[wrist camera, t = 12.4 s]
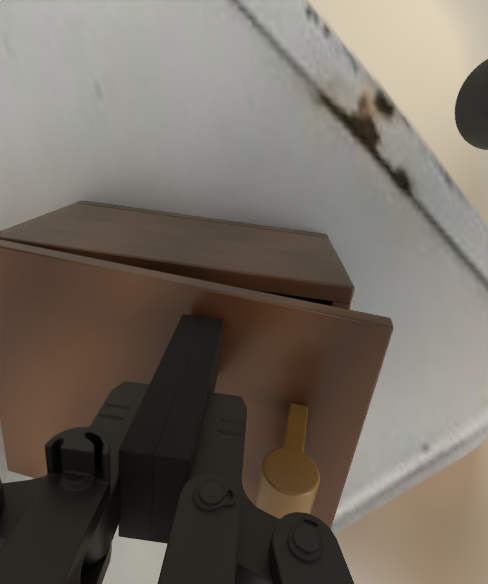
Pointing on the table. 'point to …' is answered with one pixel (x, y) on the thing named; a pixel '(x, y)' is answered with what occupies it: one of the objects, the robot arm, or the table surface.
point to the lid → (151, 347)
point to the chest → (196, 249)
